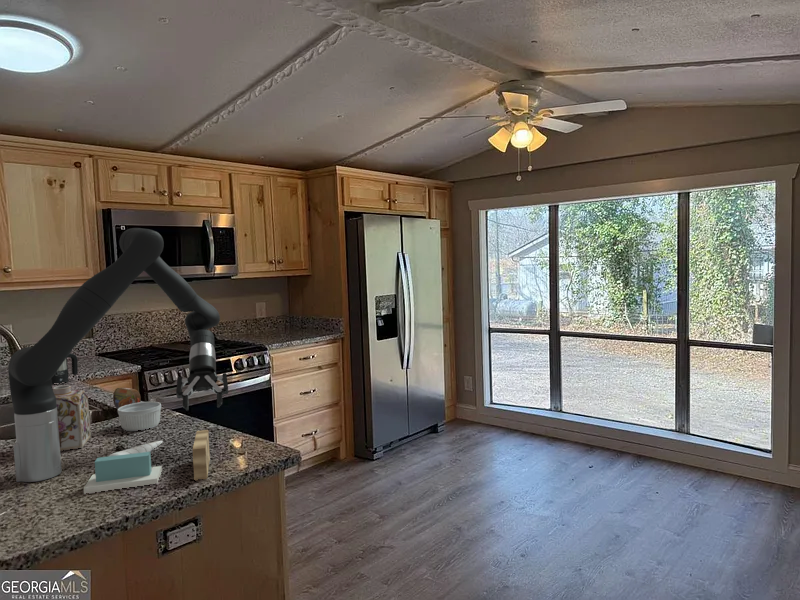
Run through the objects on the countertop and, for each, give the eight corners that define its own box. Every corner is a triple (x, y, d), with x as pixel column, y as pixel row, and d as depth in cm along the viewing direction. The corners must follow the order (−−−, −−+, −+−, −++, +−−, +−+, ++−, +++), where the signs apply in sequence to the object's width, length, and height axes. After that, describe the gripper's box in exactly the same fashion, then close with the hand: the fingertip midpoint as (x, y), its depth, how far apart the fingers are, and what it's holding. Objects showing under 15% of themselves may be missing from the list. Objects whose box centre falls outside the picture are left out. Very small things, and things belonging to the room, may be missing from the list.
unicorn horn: (174, 443, 169) (173, 427, 169) (121, 473, 146) (120, 455, 145) (160, 442, 170) (159, 427, 170) (105, 472, 147) (104, 454, 146)
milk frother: (54, 386, 258) (52, 354, 257) (31, 384, 264) (28, 353, 263) (82, 379, 271) (80, 349, 270) (59, 378, 277) (57, 348, 276)
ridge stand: (84, 494, 132) (82, 467, 132) (93, 480, 141) (91, 454, 140) (157, 484, 137) (155, 458, 136) (161, 471, 145) (160, 446, 145)
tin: (113, 408, 213) (111, 386, 212) (121, 406, 215) (119, 385, 215) (135, 414, 204) (133, 391, 203) (143, 411, 207) (141, 389, 206)
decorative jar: (91, 437, 177) (87, 381, 176) (83, 448, 166) (79, 388, 165) (48, 442, 173) (44, 384, 172) (37, 454, 162) (32, 392, 161)
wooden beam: (207, 479, 139) (205, 447, 139) (194, 481, 139) (192, 449, 138) (209, 458, 155) (208, 429, 154) (198, 459, 154) (196, 431, 153)
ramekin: (113, 427, 188) (112, 406, 187) (154, 418, 197) (153, 399, 196) (126, 435, 178) (124, 413, 178) (168, 426, 187) (167, 405, 186)
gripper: (176, 355, 165) (174, 403, 155) (226, 351, 169) (228, 397, 159) (178, 370, 171) (177, 416, 161) (227, 366, 175) (229, 411, 165)
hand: (202, 407), depth 160 cm, fingers open, 8 cm apart
